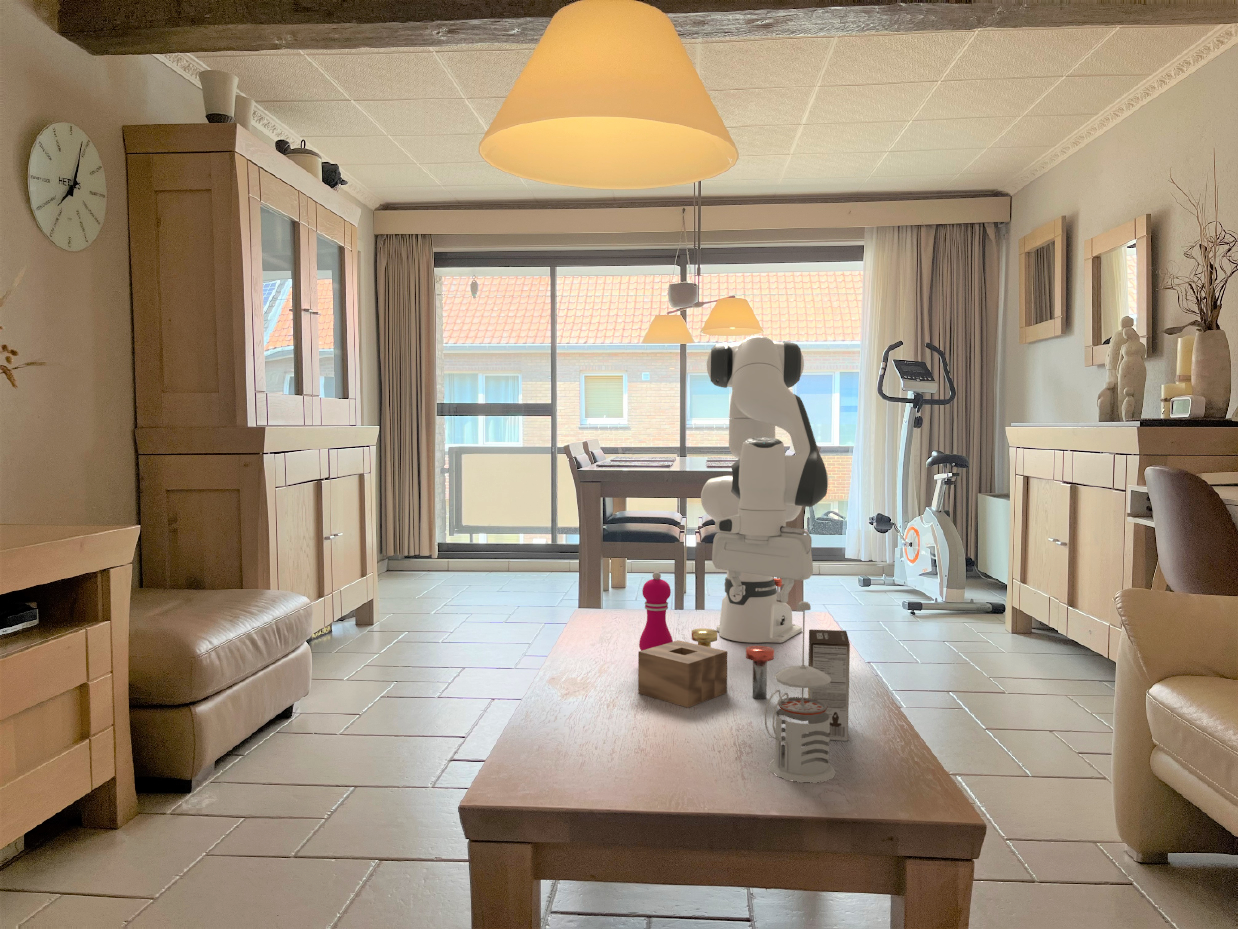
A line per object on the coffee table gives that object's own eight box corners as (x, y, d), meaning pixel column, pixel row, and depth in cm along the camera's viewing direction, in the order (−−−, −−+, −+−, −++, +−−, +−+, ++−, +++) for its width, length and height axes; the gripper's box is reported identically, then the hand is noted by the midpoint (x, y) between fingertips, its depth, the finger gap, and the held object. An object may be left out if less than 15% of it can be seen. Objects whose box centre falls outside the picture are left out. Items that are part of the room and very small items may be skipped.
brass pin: (701, 670, 174) (701, 627, 174) (721, 675, 171) (722, 631, 171) (686, 675, 171) (686, 631, 170) (706, 681, 167) (707, 635, 167)
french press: (850, 773, 122) (853, 603, 121) (792, 792, 116) (795, 612, 115) (801, 751, 130) (803, 592, 129) (744, 767, 124) (747, 600, 123)
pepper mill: (673, 661, 181) (674, 569, 181) (672, 670, 174) (673, 575, 173) (640, 660, 182) (640, 568, 181) (637, 669, 175) (638, 574, 174)
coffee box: (806, 720, 145) (808, 628, 144) (844, 722, 144) (846, 630, 143) (808, 739, 136) (810, 641, 135) (849, 742, 134) (851, 643, 134)
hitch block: (677, 679, 168) (678, 640, 167) (726, 692, 160) (727, 651, 159) (638, 693, 159) (638, 651, 159) (688, 707, 151) (688, 663, 150)
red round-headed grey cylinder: (755, 691, 161) (756, 644, 160) (778, 697, 157) (779, 649, 157) (739, 697, 157) (740, 649, 156) (763, 703, 153) (764, 654, 153)
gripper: (820, 527, 151) (818, 604, 151) (727, 519, 165) (726, 589, 165) (802, 530, 146) (800, 609, 147) (708, 521, 160) (706, 593, 161)
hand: (760, 598), depth 156 cm, fingers open, 8 cm apart
